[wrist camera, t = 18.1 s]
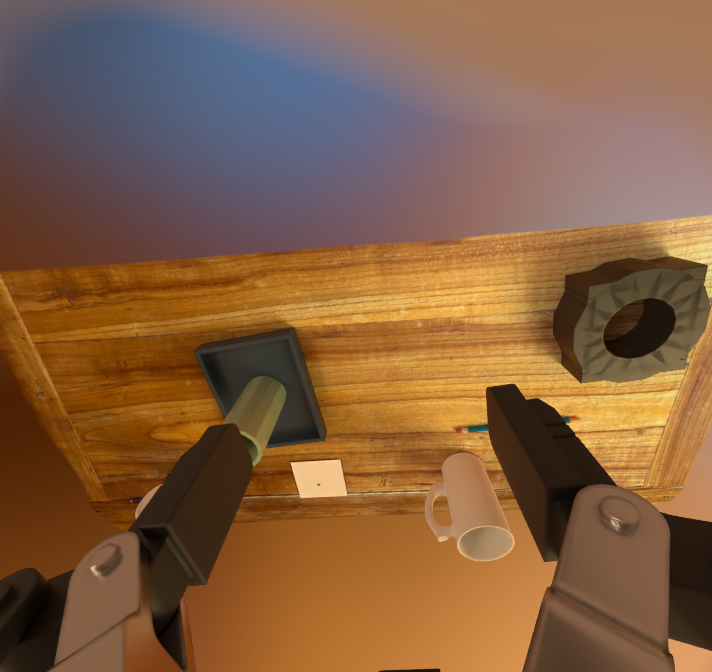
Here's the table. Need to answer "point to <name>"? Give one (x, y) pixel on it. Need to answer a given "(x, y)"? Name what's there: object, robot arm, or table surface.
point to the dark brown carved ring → (652, 333)
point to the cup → (257, 413)
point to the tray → (274, 359)
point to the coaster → (319, 478)
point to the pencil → (485, 428)
